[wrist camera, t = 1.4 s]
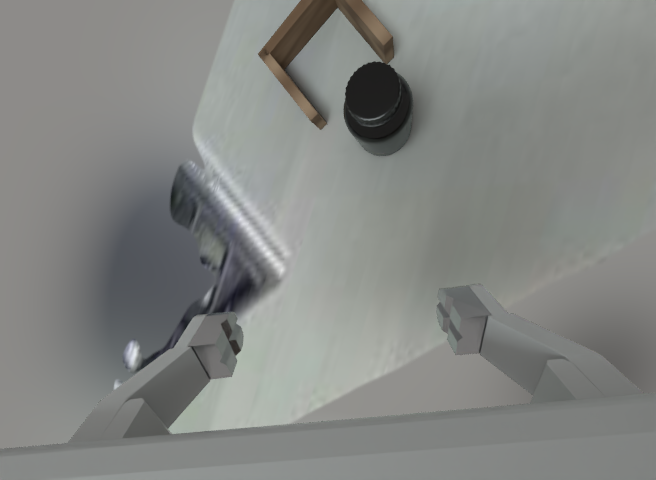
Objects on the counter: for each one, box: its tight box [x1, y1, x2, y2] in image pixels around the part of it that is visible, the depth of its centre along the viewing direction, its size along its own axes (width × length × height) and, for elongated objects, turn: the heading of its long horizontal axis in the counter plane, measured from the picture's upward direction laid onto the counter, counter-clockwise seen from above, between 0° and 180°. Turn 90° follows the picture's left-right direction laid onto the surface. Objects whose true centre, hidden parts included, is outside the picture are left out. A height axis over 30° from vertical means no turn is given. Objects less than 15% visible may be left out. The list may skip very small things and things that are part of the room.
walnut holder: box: [258, 0, 394, 130], centre depth 32 cm, size 11×12×4 cm
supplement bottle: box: [344, 62, 413, 156], centre depth 27 cm, size 7×7×12 cm
